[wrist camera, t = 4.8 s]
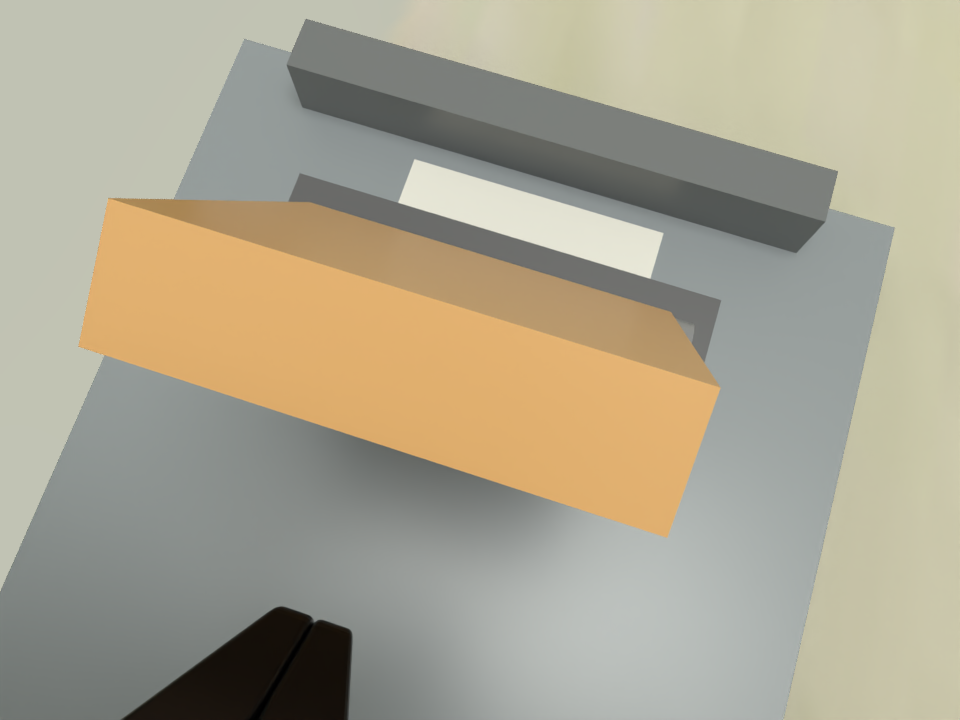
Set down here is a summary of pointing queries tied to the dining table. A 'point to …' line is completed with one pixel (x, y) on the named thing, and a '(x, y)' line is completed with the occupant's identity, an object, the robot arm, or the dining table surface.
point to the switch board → (444, 490)
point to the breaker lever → (409, 347)
